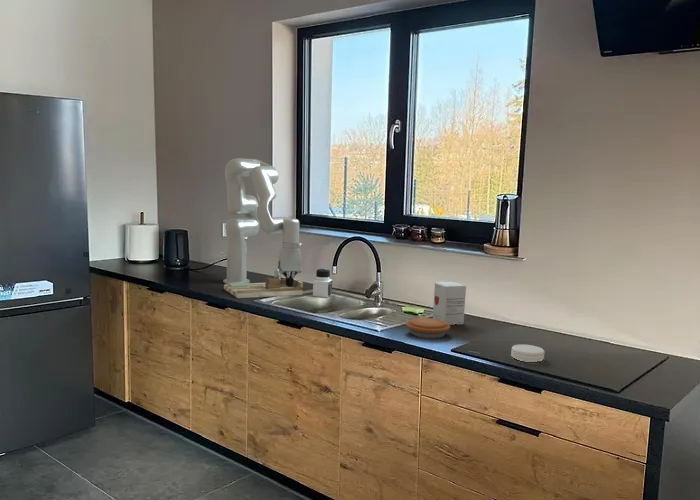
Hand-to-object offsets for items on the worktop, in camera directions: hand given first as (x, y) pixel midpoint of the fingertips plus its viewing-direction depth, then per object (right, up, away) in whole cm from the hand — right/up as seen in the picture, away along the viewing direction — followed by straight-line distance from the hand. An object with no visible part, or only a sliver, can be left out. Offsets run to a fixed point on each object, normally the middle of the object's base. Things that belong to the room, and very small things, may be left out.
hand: (289, 286), depth 282 cm
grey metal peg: (-7, 0, +10) cm, 12 cm away
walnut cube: (-7, -1, -3) cm, 8 cm away
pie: (+55, -14, -63) cm, 85 cm away
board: (-12, -3, +1) cm, 12 cm away
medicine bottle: (+15, -4, -2) cm, 16 cm away
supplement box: (+65, -11, -44) cm, 79 cm away
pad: (-24, 0, +2) cm, 24 cm away
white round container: (+83, -18, -88) cm, 122 cm away
